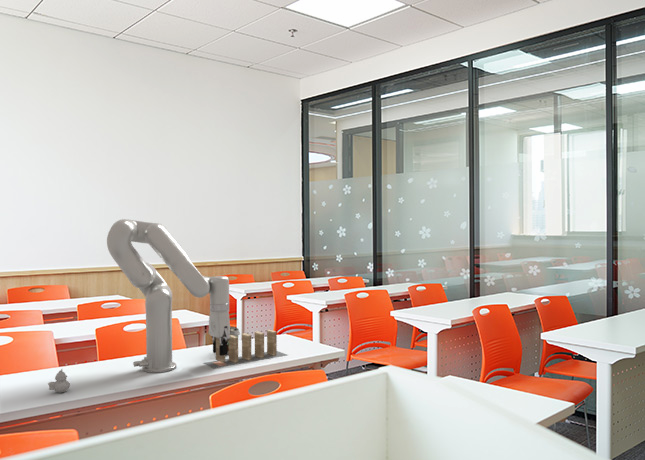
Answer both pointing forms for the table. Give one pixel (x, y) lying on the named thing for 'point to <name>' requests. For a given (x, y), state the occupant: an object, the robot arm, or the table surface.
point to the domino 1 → (218, 357)
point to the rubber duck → (59, 383)
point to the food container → (235, 333)
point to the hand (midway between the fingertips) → (220, 353)
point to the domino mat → (241, 360)
